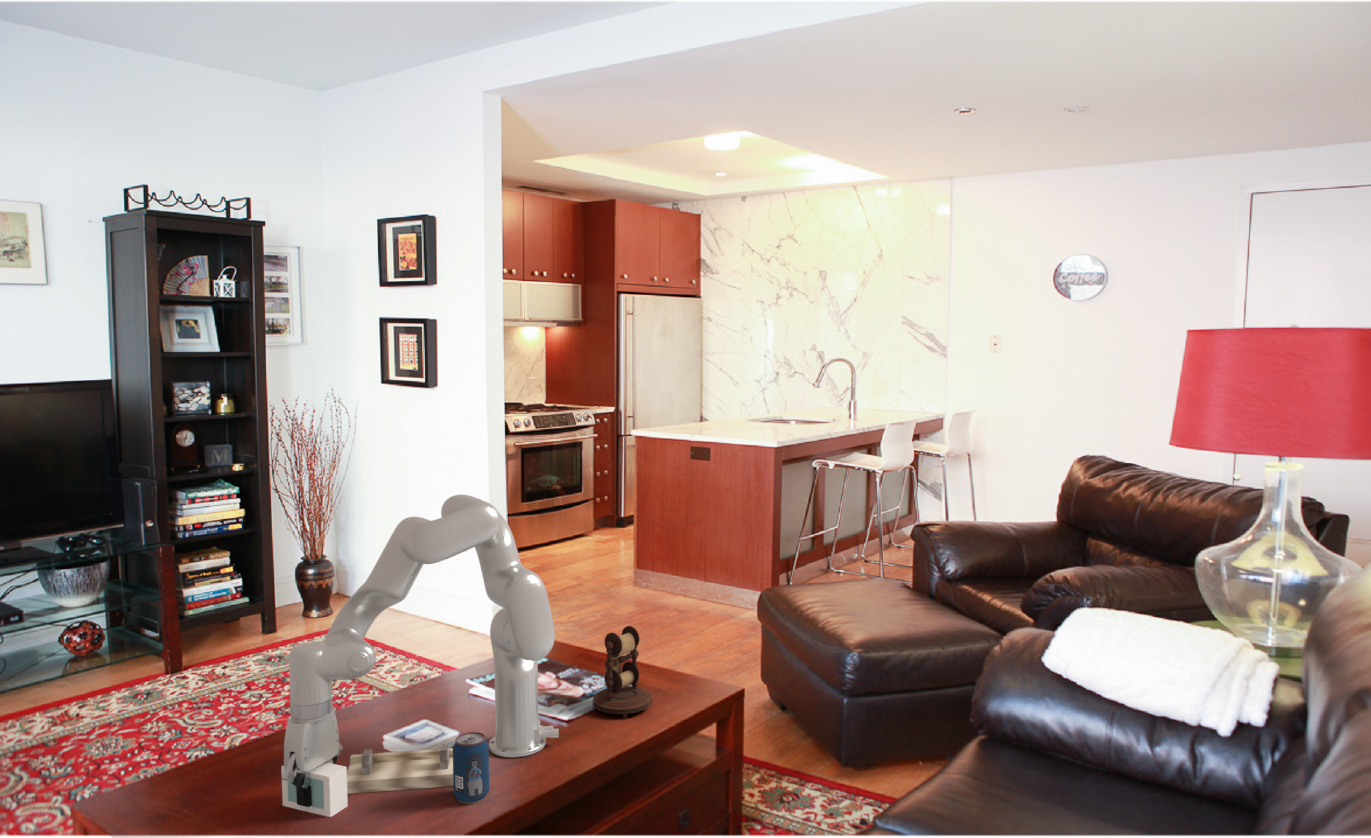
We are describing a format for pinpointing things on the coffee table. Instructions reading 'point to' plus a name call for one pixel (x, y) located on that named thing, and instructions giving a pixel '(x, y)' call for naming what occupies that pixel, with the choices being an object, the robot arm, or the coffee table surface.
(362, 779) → the ledge
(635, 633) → the thread spool stand
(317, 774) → the white block
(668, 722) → the coffee table surface
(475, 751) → the soda can
